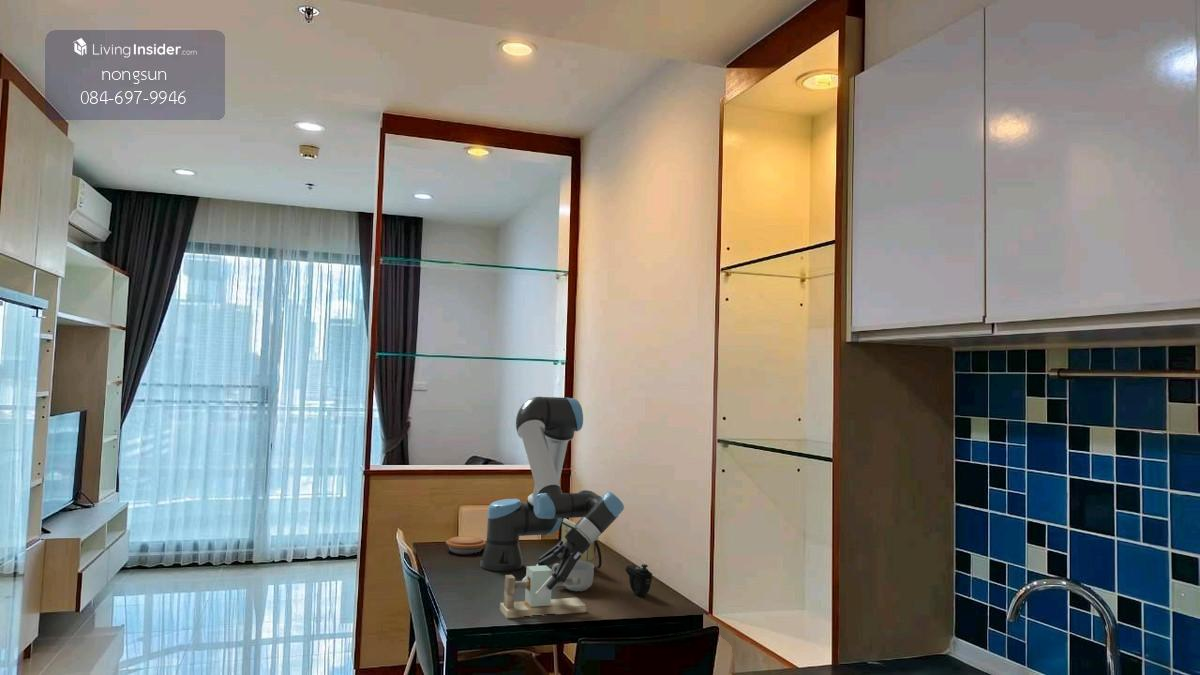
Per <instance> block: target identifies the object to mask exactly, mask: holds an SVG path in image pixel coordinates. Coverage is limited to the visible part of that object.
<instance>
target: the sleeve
mask: <svg viewBox="0 0 1200 675" xmlns="http://www.w3.org/2000/svg"><path fill="white" fill-rule="evenodd" d="M552 574H553V573H552V568H550V567H549V566H546V565H543V566H536V565H529V566H528V565H527V566H526V574H525V576H526V580H531V582H530V588H529V589H526V588H524V590H525V593H524V594H525V595H524V601H526V602H527V603H528V604H529V605H530V606H531V607H535V606H548V605H551V599H552V590H551V591H550V592H549V593H548V594H547V595H546V597H545V598H544V599H543V600H542V599H541V598H540V597H539V596H538V595H537V594H536V592H537V591H538V590H539V588H540V587H541V586H542V585H543V584H544V583H545V582H546V581H547V580H548V579H549V578H550V577H551V576H552Z"/></svg>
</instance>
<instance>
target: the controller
mask: <svg viewBox="0 0 1200 675" xmlns="http://www.w3.org/2000/svg"><path fill="white" fill-rule="evenodd" d="M640 566H641V567H639V566H637V565H633V564H632V565H627V566H626V568H625V572H626V573H627V574H628V578H629V580H628V581H629V586H630V590H631V591H632V593H633V594H634V595H636V596H644V595H646V594H648V592H649V591H650V589H651V585H652V584H651V583H652V580H653V579H652V578H653V572H651V571H650V570H649V569H648V567H649V566H648V564H644V563H643V564H641V565H640Z"/></svg>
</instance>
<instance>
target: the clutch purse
mask: <svg viewBox="0 0 1200 675" xmlns="http://www.w3.org/2000/svg"><path fill="white" fill-rule="evenodd" d="M576 524H577V522H574V521H572V520H570V519H569V518H562V522H561V525H560V541H563V542H564V543H566V542H567V539H566V538H565V536H566V534H567V533H568V532H569V531H570V530H571V529H572V528H574V529H575V525H576ZM596 550H597V555H598V566H597V567H595V554H596V553H595V552H596ZM578 553H579V552H578ZM579 554H580V555H581V557H580V559H579V560H580V561H586V562H590V563H592V564H593V565H594V569H600V568H601V566H602V564H603V563H602V562H603V561H602V559H603V558H602V552H601V549H600V545H599V542H598V541H597V540H595V541H594V542H593V543H590V547H589V548H588V549H587V550H586V551H585V552H584V553H583V554H581V553H579Z"/></svg>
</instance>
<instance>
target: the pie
mask: <svg viewBox="0 0 1200 675" xmlns="http://www.w3.org/2000/svg"><path fill="white" fill-rule="evenodd" d="M486 543H487V541H486V540H484V539H483V538H481V537H477V536H471V535H460V536H453V537H450V538H449V539H447V540H446V541H445V544H446V545H447V546H448V548H449V550H450V552H451V553H453V554H455V555H457V554H458V555H473V554H472V553H476V554H478V553H477V552H479V553H480V552H481V551H482V549H483V547H485V546H486Z"/></svg>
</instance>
